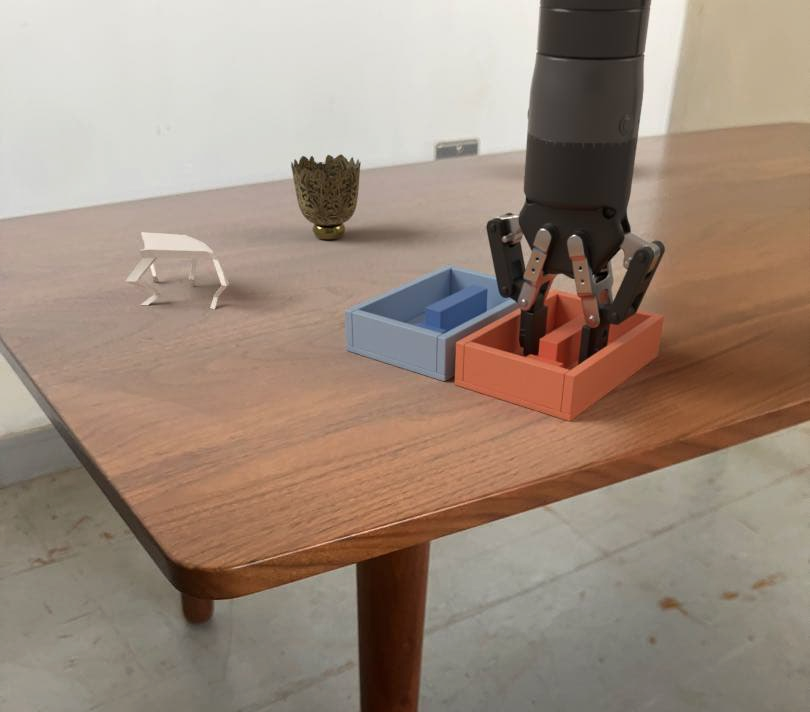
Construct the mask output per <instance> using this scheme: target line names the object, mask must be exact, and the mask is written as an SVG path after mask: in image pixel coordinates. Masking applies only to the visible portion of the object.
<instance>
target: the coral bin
mask: <svg viewBox="0 0 810 712" xmlns="http://www.w3.org/2000/svg"><path fill="white" fill-rule="evenodd" d="M544 305H546V306H548V313H547V325H546V335H547V334H549V333H551V332H552V331H554V330H556V329H557V328H559V327H561V326H563V325H564V324H566V323H568V322H569V321H571V320H573V319H574V318H576V317H578V316H579V315H581V314H583V313H584V312H583V306H582V300H581V298H580V297H578V295H577V294H574V293H571V292H567V291H563V290H558V289H552V290H549V293H548V295H547V298H546V300H545V301H544ZM520 316H521V309H520V308H519V309H517V310H515V311H513V312H511V313H510V314H508V315H506V316H504V317H502V318H500V319H498V320H496V321H495V322H493V323H491V324H489V325H487V326H485V327H483V328H482V329H480V330H478V331H476V332H474V333H472V334H470V335H469V336H467V337H465V338H463V339H461V340H459V341H457V342H456V361H455V376H454V386H457V387H460V388H464V389H467V390H470V391H473V392H477V393H479V394H482V395H485V396H489V397H491V398H495V399H498V400H502V401H504V402H508V403H511V404H514V405H518V406H521V407H524V408H527V409H530V410H533V411H537V412H540V413H542V414H546V415H548V416H552V417H555V418H558V419H562V420H564V421H568V422H571V421H572V420H574V419H575V418H576V417H579V416H580V415H581V414H582V413H583V412H584V411H586V410H587V409H588V408H590V407H592V406H593V405H595V403H597V402H598V401H600V400H601V399H602V398H603V397H605V396H606V395H608V394H609V393H610V392H611V391H613V390H615V389H616V388H617V387H619V386H620V385H622V384H623V383H624V382H625V381H627V380H628V379H629V378H630V377H632V376H633V375H634V374H636V373H637V372H639V371H640V370H642V369H643V368H644V367H645V366H647V365H648V364H649V363H651V362H652V361H654V360H655V359H657V358H658V356H659V352H660V351H659V350H660V345H661V338H662V333H663V327H664V319H665V315H663V314H658V313H655V312H651V311H646V310H643V309H638V310H637V312H636V313H635V314H634V315H633V316H631V317H629V318H628V319H626V320H625V321H623V322H622V323H620V324H618V325H613V324H610V328H609V336H608V343H607V346H606V347H605V348H603V349H602V350H600V351H599V352H597V353H596V354H594V355H593V356H591V357H590V358H588V359H587V360H585V361H584V362H582V363H581V364H579V365H578V360H579V359H578V360H577V361H575V362H574V363H572V364H571V365H569V366H568V367H566V368H561V367H558V366H554V365H551V364H547V363H544V362H540V361H537V360H533V359H530V358H526V357H527V356H525V355H524V354H523V347H520V343H519V334H520V333H519V331H520ZM536 356H539V354H538V355H536Z"/></svg>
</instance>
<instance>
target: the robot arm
mask: <svg viewBox="0 0 810 712" xmlns="http://www.w3.org/2000/svg"><path fill="white" fill-rule="evenodd" d="M539 5H540V6H538V7H539V8H538V22H537V23H538V25H537V36H536V37H537V38H536V39H537V40H536V51H537V52H536V54H535V60H534V61H535V63H534V67H533V72H532V78H531V83H530V90H529V99H528V100H529V101H528V109H527V131H526V132H527V133H526V145H525V160H524V161H525V162H524V175H523V176H524V177H523V193H524V195H525V201H524V204H523V206H522V208H521V210H520V211H519V213H517V214H514V213H512V212H506V213H504V214H501V215H498V216H496V217H493V218H492V219H490V220H488V221H487V222H486V226H485V227H486V234H487V237H488V238H487V239H488V243H489V244H488V245H489V248H490V255H491V260H492V264H493V269H494V270H493V271H494V274H495V276H496V280H497V285H498V290H499V294H500V295H501V296H502V297H503V298H509V297H510V298H511V299H513V300H514V301H516V302H517V303H518V306H519V308H520V309H521V316H520V331H519V333H520V334H519V343H520V347H523V354H524V355H525V356H528V355H530V354H532V355H535V356H536V355H538V354H539V344H540V339H541V338H542V337H544V336H546V325H547V313H548V306H546V305H544V301H545V300H546V298H547V295H548V293H549V292H550V291H551V287H552V285H553V283H554V280H555V279H556V277H557V276H558V275H564V276H565V277H567V278H569V279H571V280H574V283H575V289H576V295H578V297H580V298H581V300H582V306H583V312H584V318H585V323H586V324H585V325H584V326H582V333H581V342H580V351H579V360H578V365H579V364H581V363H582V362H584V361H585V360H587V359H588V358H590V357H591V356H593V355H594V354H596V353H597V352H599V351H600V350H602V349H603V348H605V347H606V346H607V343H608V336H609V328H610V324H613V325H618V324H620V323H622V322H623V321H625V320H626V319H628V318H629V317H631V316H633V315H634V314H635V313H636V312H637V310H639V309H640V306H641V303H642V301H643V300H644V297H645V295H646V293H647V291H648V288H649V286H650V284H651V282H652V280H653V278H654V276H655V274H656V272H657V269H658V267H659V265H660V263H661V261H662V259H663V257H664V254H665V251H666V248H665V244H664V243H663V242H662V241H661V240H653V241H651V242H649V241H647V240H645V239H643V238H641V237H639V236H638V235H636V234H634V233H632V228H631V223H630V221H629V218H628V207H629V202H630V199H631V193H632V185H633V177H634V169H635V161H636V155H637V148H638V147H637V146H638V140H639V130H640V123H641V115H642V107H643V101H644V91H645V89H644V88H645V84H644V83H645V52H646V45H647V37H648V29H649V22H650V14H651V6H652V0H539ZM523 237H524V238H525V240H526V243H527V244H528V247H529V249H530V251H531V253H530V256H529V259H528V262H527V264H525V258H524V254H523V248H522V239H523ZM621 250H622V251H623V255H624V256H623V262H622V263H623V265H622V266H623V268H624V269H626V272H625V274H624V276H623V278H622V280H621V283H620V285H619V287H618V290H617V292H616V294H615V296H614V298H613V291H612V288H613V285H614V275H613V267H612V261H611V260H612V259H613V258H614V257H615V256H616V255H617V254H618V253H619V252H620V251H621Z"/></svg>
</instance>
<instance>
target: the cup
mask: <svg viewBox="0 0 810 712" xmlns="http://www.w3.org/2000/svg"><path fill="white" fill-rule="evenodd" d="M290 163H291V164H290V167H291V172H292V179H293V182H294V183H293V184H294V190H295V196H296V199H297V204H298V207H299V210H300V212H301V214H302V216H303V217H304V219H306V221H308V222H309V223H311V224H313V225H312V232H313V236H315V237H316V238H318V239H320V240H326V241H331V240H338V239H340V238H342V237H343V236H344V235H345V233H346V226H345V223H346V222H348V221H349V220H350V219H351V218H352V217H353V215H354V214H355V212H356V209H357V204H358V198H359V189H360V177H361V176H360V173H361V161H360V159H359V158H357V160H356V162H355V160H354V157H353V156H352V157H351V158H350V159H349V161H348V158H346V157H345V156H344V155H343V154H338V155H337V156H335V157H334V156H332V155H331V154H327V155H326V156H325V160H324V162H323V161H319V162H316V160H315V158H314V156H313V155H311V156H310V157H309V158H307V157H306V156H304V155H302V156H301V157H300V159H299V161H298V160H296V158H294V159H293V162H292V161H291V162H290Z"/></svg>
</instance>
